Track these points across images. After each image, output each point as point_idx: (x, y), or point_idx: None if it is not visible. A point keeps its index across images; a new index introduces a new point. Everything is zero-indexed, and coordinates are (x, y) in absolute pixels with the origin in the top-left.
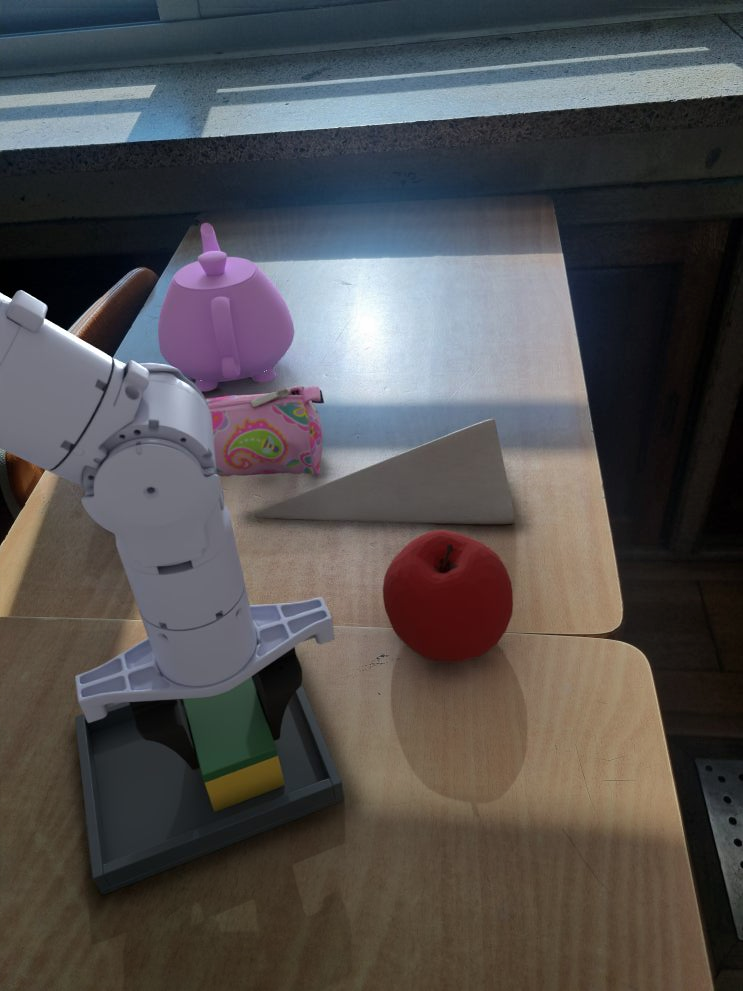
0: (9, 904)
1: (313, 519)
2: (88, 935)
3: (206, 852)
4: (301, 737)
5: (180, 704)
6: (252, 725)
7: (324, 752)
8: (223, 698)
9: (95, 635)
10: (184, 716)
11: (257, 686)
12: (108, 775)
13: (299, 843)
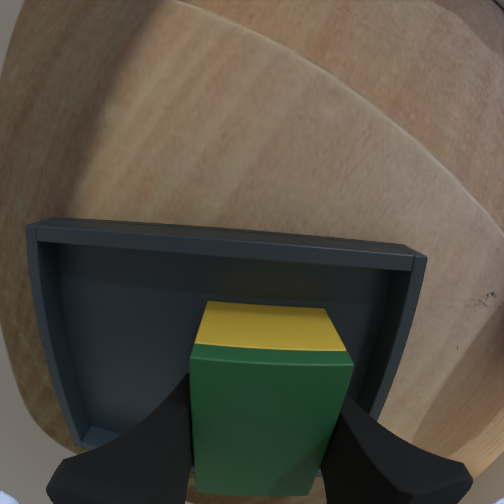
0: (16, 381)
1: (499, 4)
2: None
3: None
4: (350, 388)
5: (179, 451)
6: (295, 469)
7: None
8: (271, 420)
9: (110, 15)
10: (185, 437)
11: (342, 434)
12: (78, 320)
13: None
